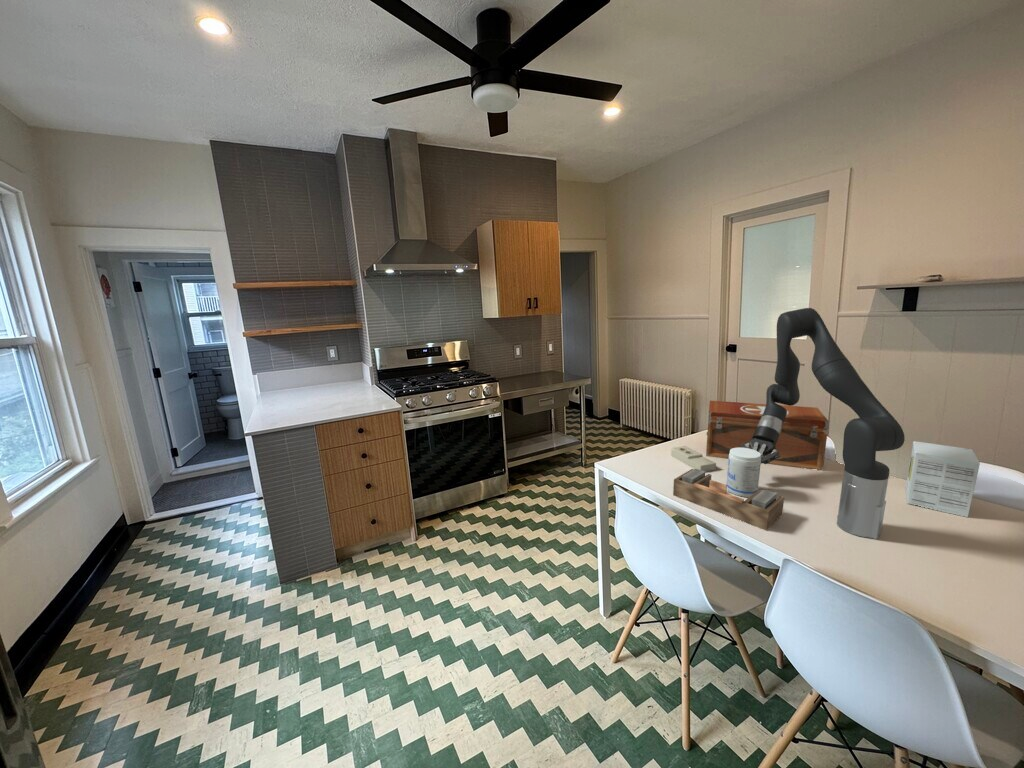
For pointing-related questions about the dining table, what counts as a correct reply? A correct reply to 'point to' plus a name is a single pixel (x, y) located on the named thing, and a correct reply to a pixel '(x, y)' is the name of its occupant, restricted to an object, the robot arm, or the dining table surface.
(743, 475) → the supplement tub
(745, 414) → the wooden box
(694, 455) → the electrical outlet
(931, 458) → the supplement box
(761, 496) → the rack
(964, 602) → the dining table surface
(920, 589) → the dining table surface
